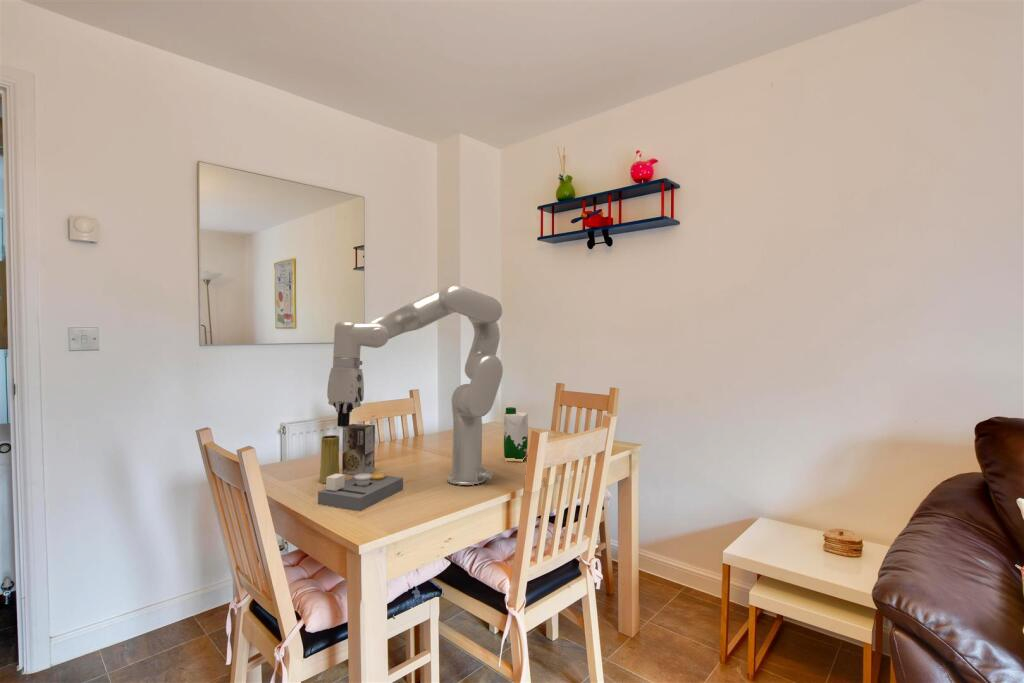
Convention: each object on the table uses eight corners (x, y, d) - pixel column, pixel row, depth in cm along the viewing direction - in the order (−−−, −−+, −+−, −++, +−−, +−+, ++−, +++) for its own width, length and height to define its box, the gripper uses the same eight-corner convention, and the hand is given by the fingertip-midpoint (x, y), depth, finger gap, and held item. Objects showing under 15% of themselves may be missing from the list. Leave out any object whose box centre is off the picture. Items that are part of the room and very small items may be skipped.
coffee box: (375, 471, 172) (376, 424, 172) (364, 476, 166) (365, 428, 166) (352, 469, 174) (352, 423, 174) (341, 473, 168) (341, 426, 168)
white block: (344, 495, 141) (344, 474, 141) (334, 499, 137) (335, 478, 137) (335, 494, 142) (336, 473, 142) (326, 498, 138) (326, 477, 138)
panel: (403, 489, 152) (403, 477, 152) (360, 511, 133) (360, 498, 133) (364, 483, 157) (364, 472, 157) (317, 504, 137) (318, 491, 137)
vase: (342, 478, 163) (342, 434, 162) (336, 483, 156) (336, 438, 156) (323, 478, 162) (324, 434, 162) (316, 483, 156) (317, 438, 156)
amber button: (388, 483, 153) (388, 473, 153) (379, 488, 148) (379, 477, 148) (375, 481, 155) (375, 471, 155) (365, 486, 150) (365, 475, 150)
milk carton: (506, 456, 197) (507, 406, 197) (528, 458, 195) (529, 407, 195) (501, 461, 188) (502, 409, 188) (525, 463, 187) (526, 410, 187)
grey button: (374, 484, 146) (374, 474, 146) (364, 489, 142) (364, 478, 142) (361, 482, 148) (361, 472, 148) (350, 487, 143) (350, 476, 143)
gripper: (375, 364, 147) (372, 426, 147) (334, 362, 152) (331, 421, 152) (359, 365, 140) (356, 430, 140) (316, 362, 145) (313, 425, 145)
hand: (343, 425), depth 146 cm, fingers closed
